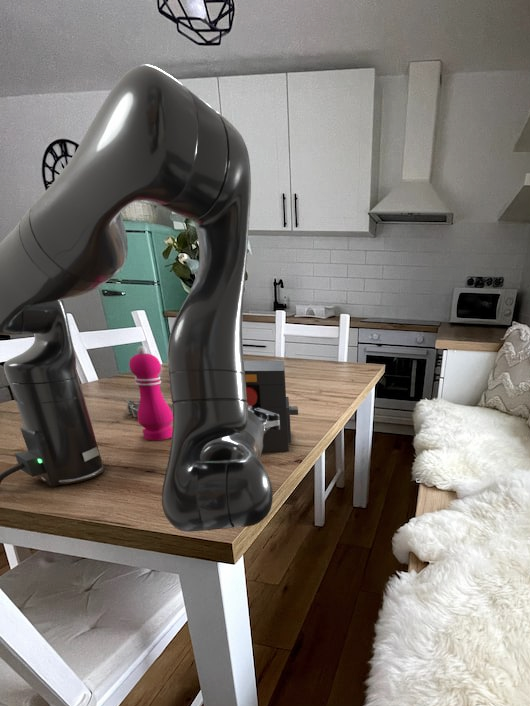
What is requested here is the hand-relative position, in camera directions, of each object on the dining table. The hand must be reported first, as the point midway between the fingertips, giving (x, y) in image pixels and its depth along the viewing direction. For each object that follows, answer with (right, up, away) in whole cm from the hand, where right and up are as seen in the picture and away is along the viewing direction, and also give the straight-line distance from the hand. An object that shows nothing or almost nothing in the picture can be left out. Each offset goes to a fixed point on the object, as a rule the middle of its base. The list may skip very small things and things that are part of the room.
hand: (244, 408), depth 70 cm
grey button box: (-2, -4, +19) cm, 20 cm away
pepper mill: (-26, -3, +21) cm, 34 cm away
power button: (-2, +2, +9) cm, 9 cm away
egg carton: (-37, +5, +37) cm, 52 cm away
